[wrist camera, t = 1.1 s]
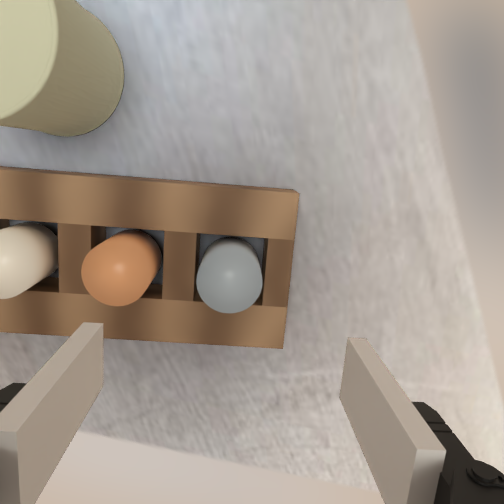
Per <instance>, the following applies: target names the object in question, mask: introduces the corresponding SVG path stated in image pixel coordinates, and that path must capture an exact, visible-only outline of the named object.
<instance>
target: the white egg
mask: <svg viewBox="0 0 504 504" xmlns="http://www.w3.org/2000/svg"><path fill="white" fill-rule="evenodd" d="M58 266H59V263H58V238H57V237H56V235H55V234H54V233H53V232H52V231H51V230H50V229H48V228H47V227H45V226H43V225H41V224H38V223H33V222H24V223H20V224H16V225H13V226H10V227H7V228H3V229H0V299H8V298H12V297H15V296H17V295H19V294H21V293H22V292H24V291H25V290H27V289H28V288H30V287H32V286H33V285H35V284H36V283H38V282H40V281H41V280H43V279H44V278H46V277H48V276H49V275H51V274H52V273H53V272H54V271H55V270H56V269H57V268H58Z"/></svg>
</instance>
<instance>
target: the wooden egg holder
mask: <svg viewBox="0 0 504 504" xmlns="http://www.w3.org/2000/svg"><path fill="white" fill-rule="evenodd" d="M298 202H299V193H298V192H296V191H294V190H291V189H279V188H266V187H254V186H241V185H229V184H216V183H204V182H191V181H179V180H166V179H154V178H141V177H129V176H116V175H104V174H91V173H79V172H66V171H54V170H41V169H29V168H16V167H4V166H0V229H3V228H7V227H9V219H12V220H26V221H39V222H53V223H58V263H59V278H55V277H46V278H44V279H43V280H41V281H40V282H38V283H36V284H35V285H33V286H32V287H30V288H28V289H27V290H25V291H24V292H22V293H21V294H19V295H17V296H15V297H12V298H8V299H0V332H7V333H24V334H41V335H58V336H71V335H72V334H73V333H74V332H75V331H76V330H77V329H78V328H79V327H80V326H81V324H82V323H83V322H89V323H103V338H109V339H126V340H143V341H160V342H177V343H194V344H211V345H228V346H244V347H261V348H278V349H283V343H284V333H285V324H286V314H287V305H288V296H289V286H290V277H291V267H292V258H293V249H294V239H295V230H296V220H297V211H298ZM106 226H108V227H121V228H135V229H148V230H162V231H164V258H163V285H160V284H150V285H149V286H148V288H147V289H146V291H145V292H144V294H143V295H142V296H141V297H140V298H139V299H138V300H136V301H135V302H133V303H131V304H128V305H125V306H110V305H106V304H103V303H101V302H99V301H98V300H96V299H95V298H94V297H92V296H91V295H90V293H89V292H88V291H87V289H86V288H85V286H84V283H83V281H82V275H81V268H82V264H83V261H84V259H85V257H86V255H87V254H88V253H89V252H90V251H91V250H92V249H93V248H94V247H96V246H97V245H99V244H101V243H102V242H104V241H105V240H106ZM200 233H203V234H217V235H230V236H244V237H258V238H264V249H263V260H262V271H261V274H262V280H263V281H262V290H261V293H260V295H259V297H258V298H257V300H256V301H255V302H254V303H253V304H252V305H251V306H250V307H249V308H247V309H245V310H243V311H241V312H237V313H222V312H218V311H216V310H214V309H212V308H210V307H209V306H208V305H207V304H206V303H205V302H204V301H203V300H202V299H201V297H200V295H199V293H198V290H197V284H196V280H197V274H198V267H199V249H200Z"/></svg>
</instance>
